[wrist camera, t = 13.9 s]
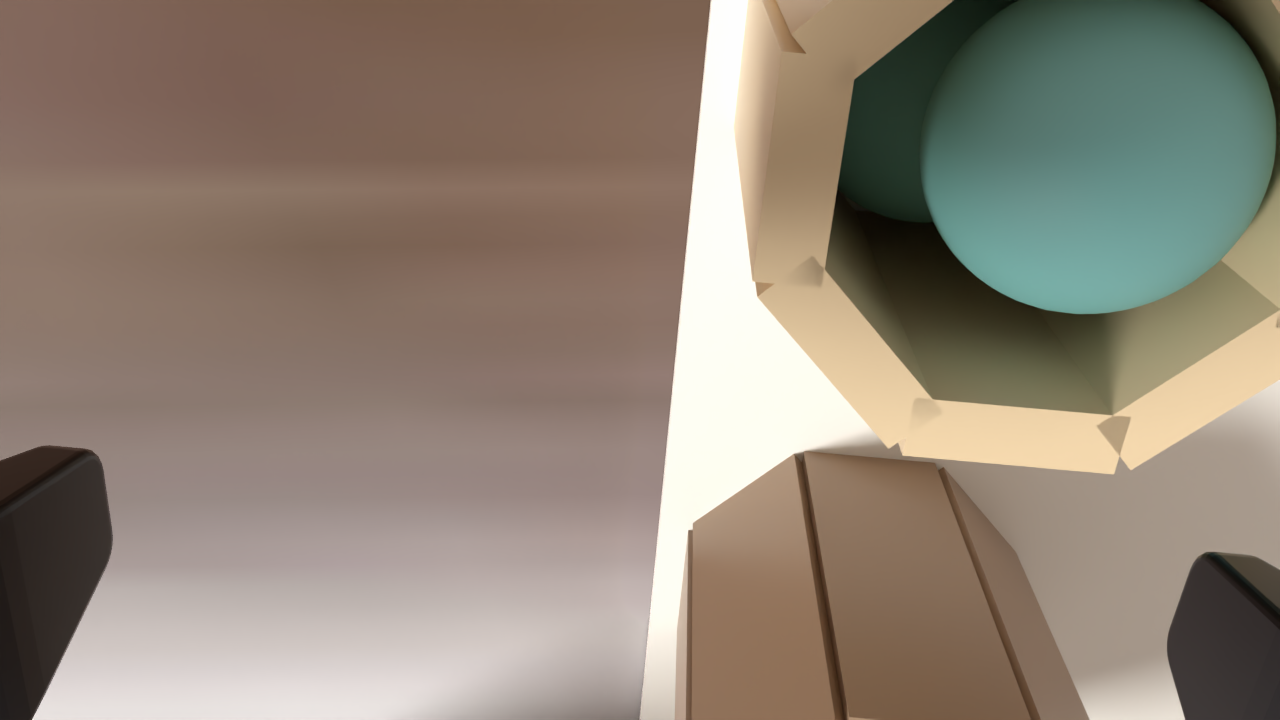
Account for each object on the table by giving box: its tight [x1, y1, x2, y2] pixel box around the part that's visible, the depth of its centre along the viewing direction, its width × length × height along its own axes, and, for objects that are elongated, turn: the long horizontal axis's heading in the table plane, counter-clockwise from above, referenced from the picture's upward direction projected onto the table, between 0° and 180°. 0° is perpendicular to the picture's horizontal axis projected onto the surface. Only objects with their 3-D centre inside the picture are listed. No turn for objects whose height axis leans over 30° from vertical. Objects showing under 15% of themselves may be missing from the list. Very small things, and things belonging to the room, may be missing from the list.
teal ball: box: [919, 0, 1276, 314], centre depth 14 cm, size 4×4×4 cm
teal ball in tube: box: [837, 0, 1018, 223], centre depth 17 cm, size 4×4×4 cm
